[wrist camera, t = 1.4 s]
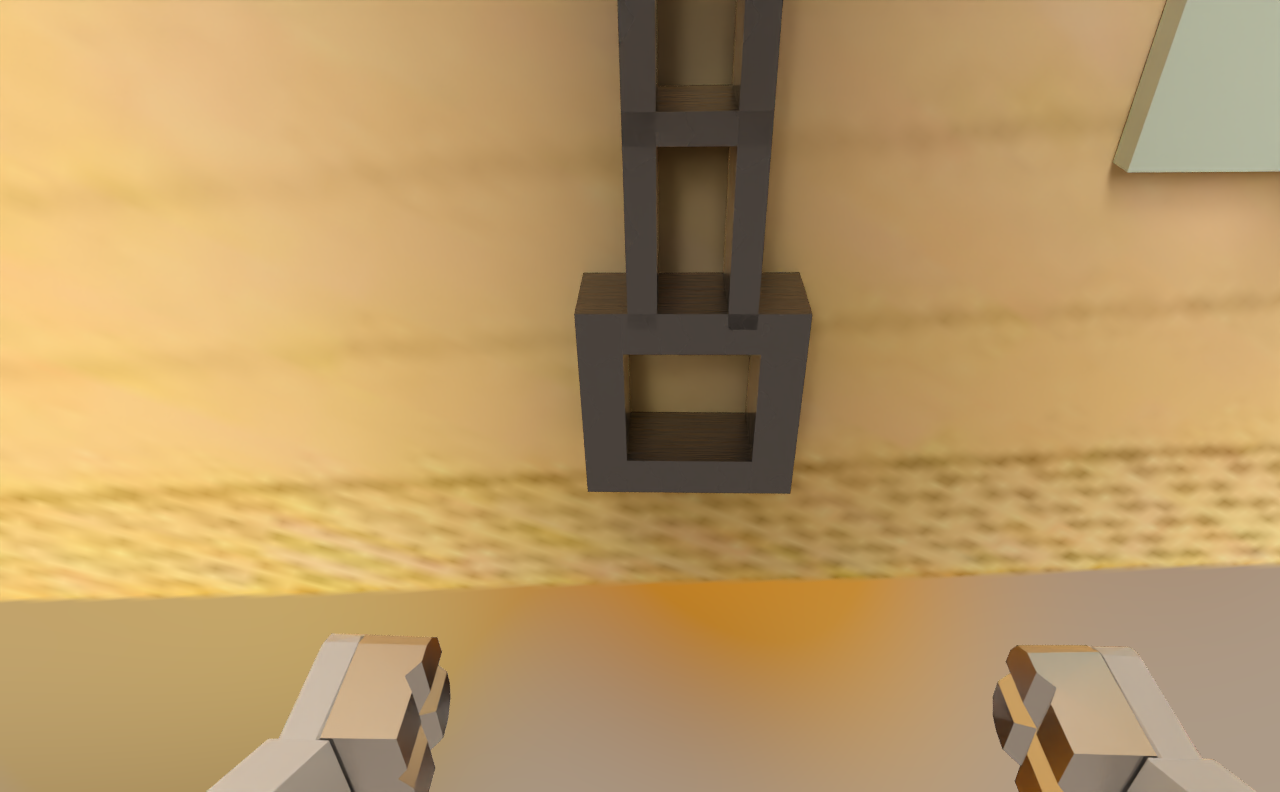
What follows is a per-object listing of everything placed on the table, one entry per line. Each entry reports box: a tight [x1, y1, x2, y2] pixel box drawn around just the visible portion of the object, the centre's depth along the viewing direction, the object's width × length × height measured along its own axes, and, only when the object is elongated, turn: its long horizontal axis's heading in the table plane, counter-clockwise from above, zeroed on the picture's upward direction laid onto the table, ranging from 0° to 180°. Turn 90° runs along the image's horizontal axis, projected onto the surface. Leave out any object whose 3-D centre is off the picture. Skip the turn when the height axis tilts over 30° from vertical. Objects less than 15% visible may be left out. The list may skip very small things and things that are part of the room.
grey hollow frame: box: [574, 0, 812, 494], centre depth 26 cm, size 21×8×3 cm, turn 1°
